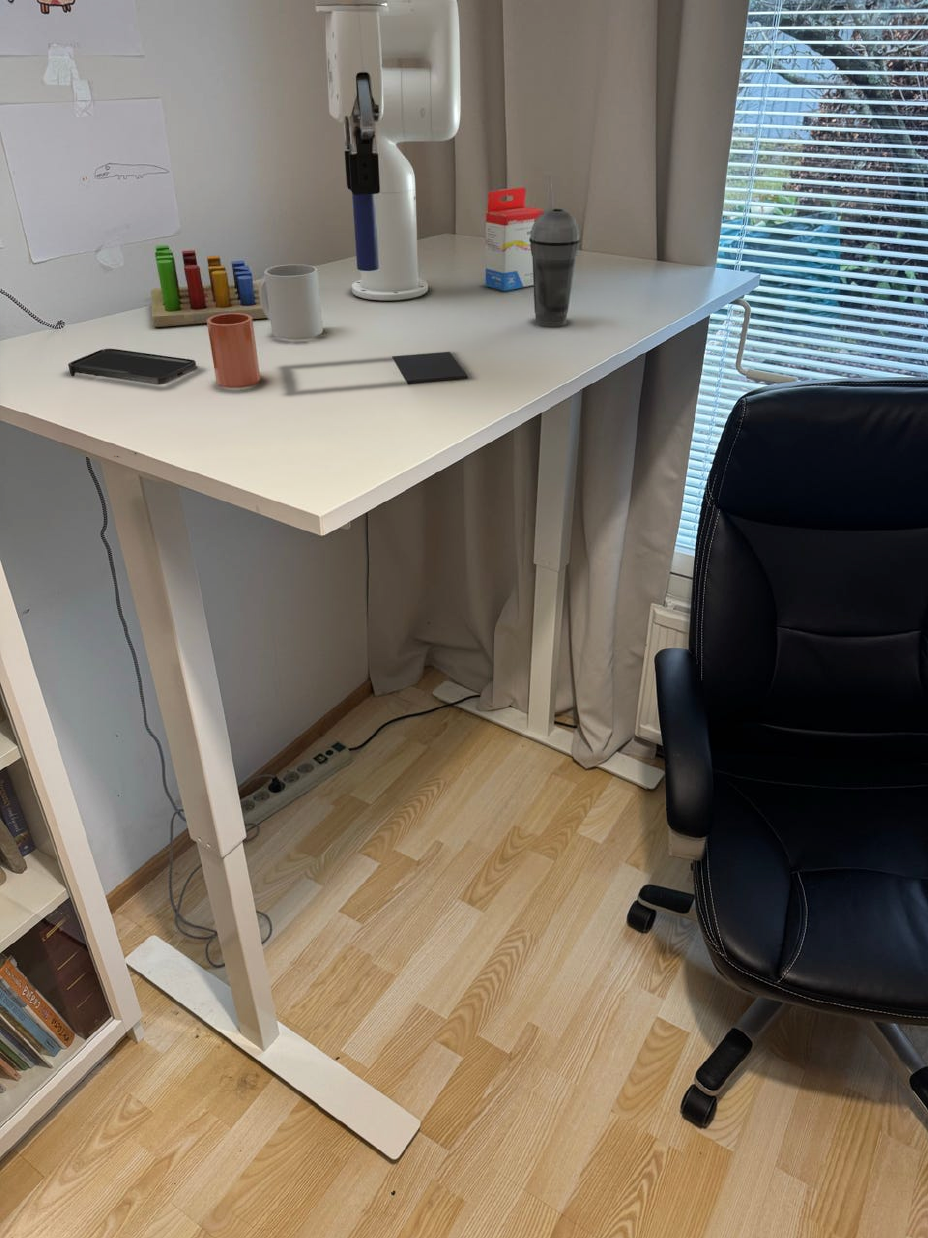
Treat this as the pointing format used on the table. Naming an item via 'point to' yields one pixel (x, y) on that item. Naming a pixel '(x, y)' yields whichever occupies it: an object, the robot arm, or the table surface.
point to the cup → (292, 301)
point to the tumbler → (233, 349)
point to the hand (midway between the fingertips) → (363, 189)
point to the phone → (132, 366)
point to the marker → (365, 230)
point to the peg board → (201, 291)
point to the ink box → (509, 240)
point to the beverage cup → (553, 263)
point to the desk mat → (429, 367)
